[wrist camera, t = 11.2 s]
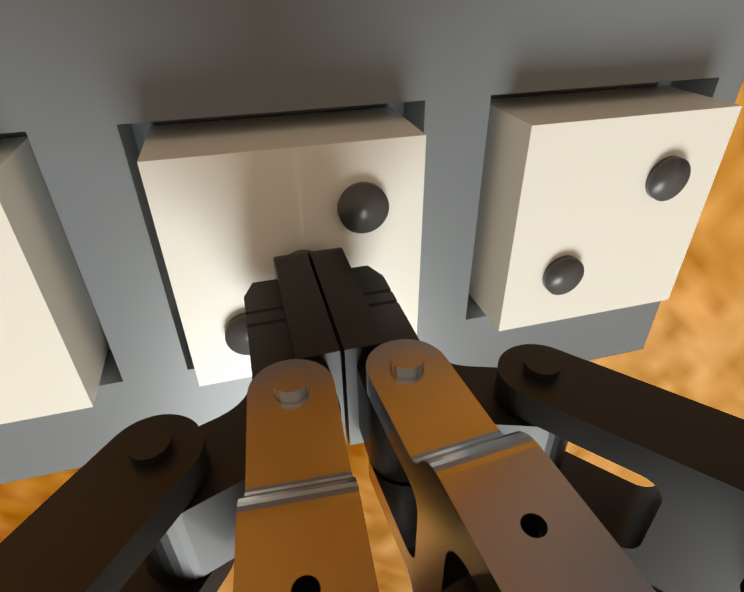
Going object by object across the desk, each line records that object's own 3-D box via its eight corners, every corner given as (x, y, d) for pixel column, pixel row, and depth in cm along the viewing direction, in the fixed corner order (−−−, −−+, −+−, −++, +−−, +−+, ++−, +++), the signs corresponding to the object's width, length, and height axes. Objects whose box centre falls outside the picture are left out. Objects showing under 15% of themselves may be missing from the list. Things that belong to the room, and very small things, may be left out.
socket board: (-445, -41, 9) (-692, -43, 6) (692, -54, 14) (794, -57, 11) (-87, 427, 15) (-142, 513, 13) (591, 303, 21) (642, 349, 18)
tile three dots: (149, 125, 11) (135, 165, 9) (391, 106, 12) (429, 137, 10) (200, 326, 14) (199, 392, 12) (389, 296, 15) (418, 350, 13)
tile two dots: (481, 99, 13) (537, 128, 11) (665, 85, 14) (749, 107, 12) (461, 284, 16) (502, 335, 14) (614, 259, 17) (673, 303, 15)
